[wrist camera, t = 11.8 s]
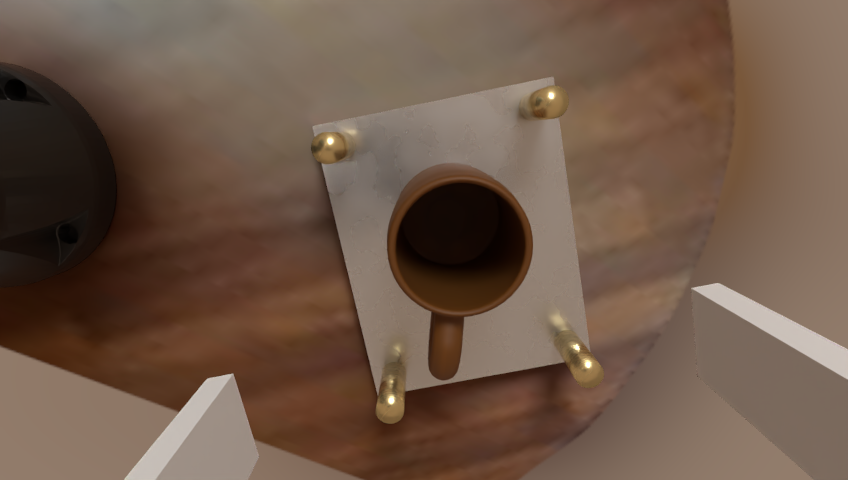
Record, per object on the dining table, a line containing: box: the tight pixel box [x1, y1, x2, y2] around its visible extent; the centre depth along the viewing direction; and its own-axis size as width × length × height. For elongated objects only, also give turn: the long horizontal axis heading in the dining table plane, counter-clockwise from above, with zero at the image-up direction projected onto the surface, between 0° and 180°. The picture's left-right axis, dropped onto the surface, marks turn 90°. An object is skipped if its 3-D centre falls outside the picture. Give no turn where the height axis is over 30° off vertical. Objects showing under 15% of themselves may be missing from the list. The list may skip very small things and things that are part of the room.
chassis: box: [311, 77, 604, 424], centre depth 32 cm, size 16×20×6 cm
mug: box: [387, 163, 533, 381], centre depth 29 cm, size 12×8×9 cm, turn 174°
